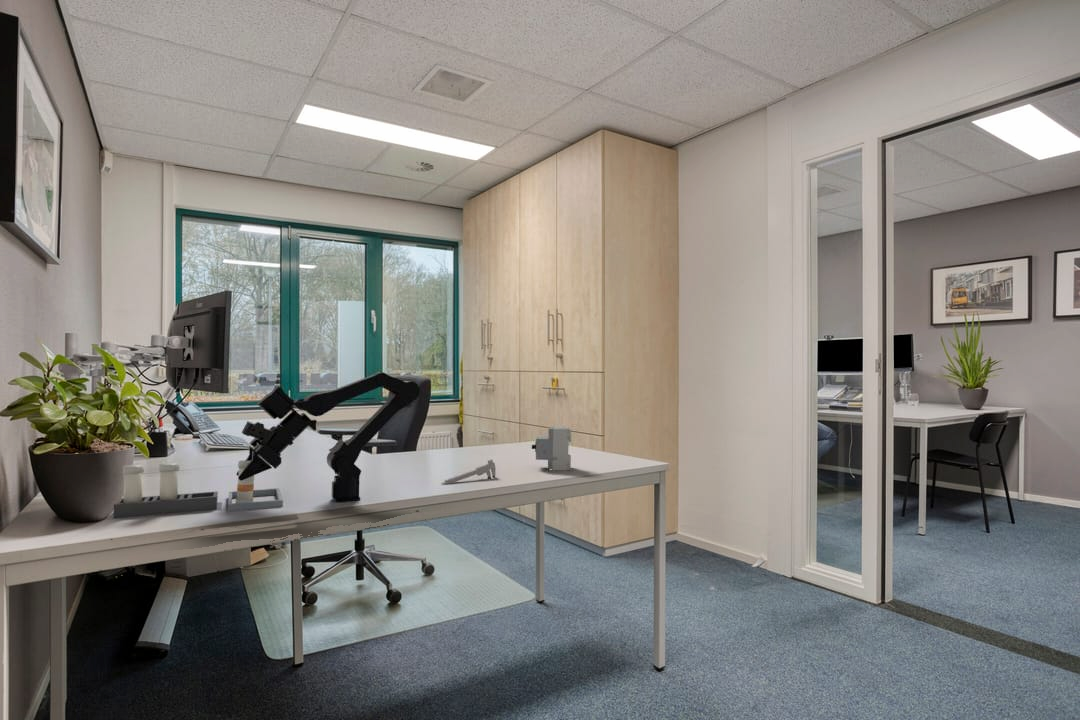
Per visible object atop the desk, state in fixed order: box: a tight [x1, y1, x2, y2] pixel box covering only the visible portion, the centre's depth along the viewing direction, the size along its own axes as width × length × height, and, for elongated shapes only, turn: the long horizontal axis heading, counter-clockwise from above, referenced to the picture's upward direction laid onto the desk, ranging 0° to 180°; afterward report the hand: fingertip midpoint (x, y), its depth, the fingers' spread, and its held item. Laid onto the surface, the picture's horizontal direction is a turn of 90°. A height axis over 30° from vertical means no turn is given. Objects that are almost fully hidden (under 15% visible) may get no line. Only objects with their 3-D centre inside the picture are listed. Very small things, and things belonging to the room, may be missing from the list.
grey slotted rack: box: [106, 491, 223, 521], centre depth 136 cm, size 22×8×4 cm, turn 118°
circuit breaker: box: [531, 425, 572, 471], centre depth 210 cm, size 8×14×15 cm, turn 88°
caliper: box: [441, 459, 497, 485], centre depth 185 cm, size 20×1×6 cm, turn 132°
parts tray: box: [227, 487, 284, 512], centre depth 146 cm, size 12×15×3 cm
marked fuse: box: [235, 459, 255, 503], centre depth 145 cm, size 4×4×11 cm
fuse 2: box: [158, 462, 180, 500], centre depth 136 cm, size 4×4×11 cm
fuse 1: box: [122, 463, 145, 503], centre depth 133 cm, size 4×4×11 cm
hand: (238, 477), depth 144 cm, fingers open, 5 cm apart
